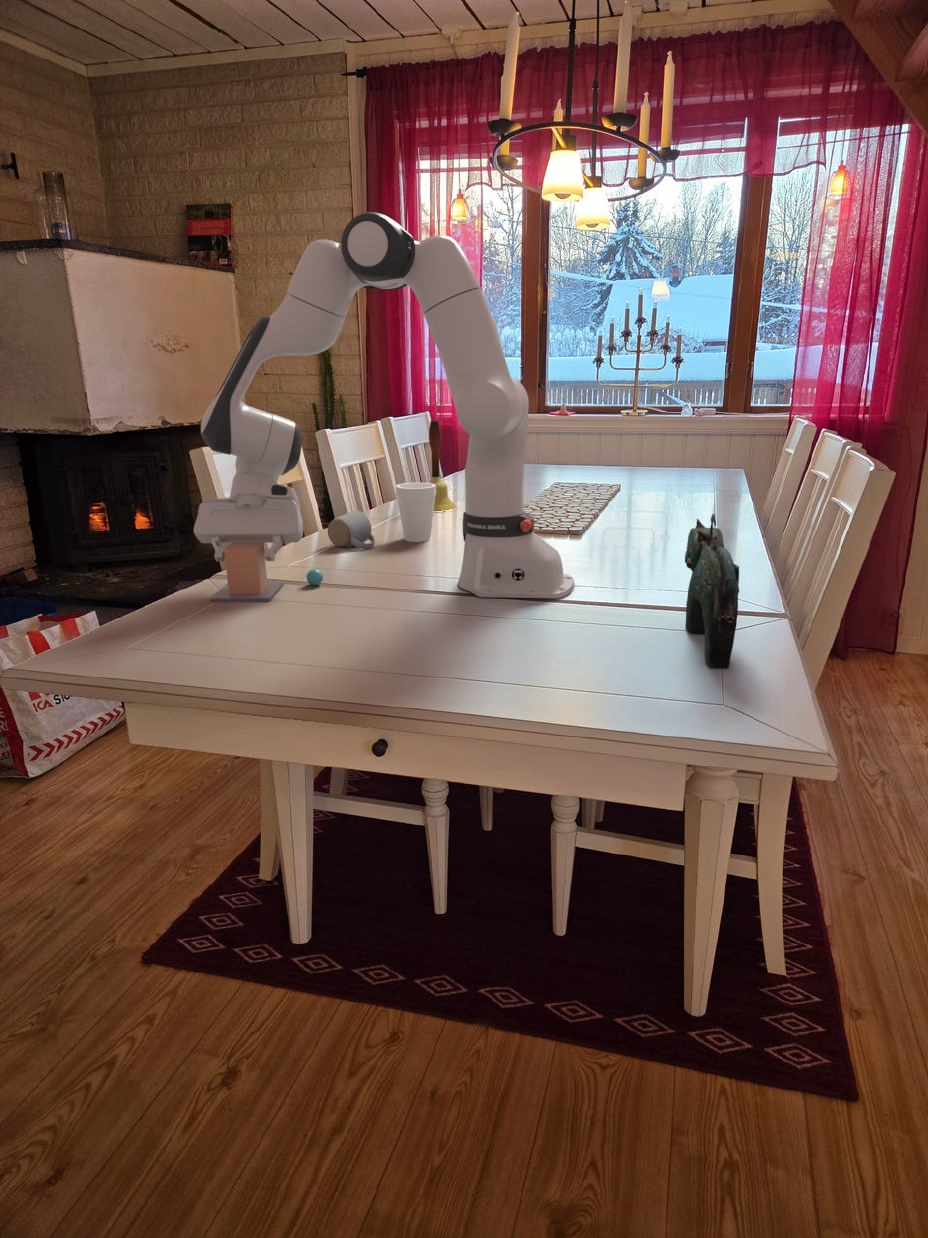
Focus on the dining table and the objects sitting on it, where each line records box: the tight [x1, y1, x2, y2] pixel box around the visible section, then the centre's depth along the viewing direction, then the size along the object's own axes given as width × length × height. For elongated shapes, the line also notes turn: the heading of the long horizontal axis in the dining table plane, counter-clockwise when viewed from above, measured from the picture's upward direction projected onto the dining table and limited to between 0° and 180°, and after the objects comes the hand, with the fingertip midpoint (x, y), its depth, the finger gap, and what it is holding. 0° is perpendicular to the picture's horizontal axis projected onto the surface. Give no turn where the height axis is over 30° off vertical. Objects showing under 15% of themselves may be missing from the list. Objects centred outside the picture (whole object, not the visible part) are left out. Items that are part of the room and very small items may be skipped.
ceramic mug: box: [327, 510, 376, 550], centre depth 186 cm, size 11×8×8 cm
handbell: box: [427, 419, 457, 511], centre depth 227 cm, size 12×12×25 cm
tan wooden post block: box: [223, 543, 268, 594], centre depth 150 cm, size 6×5×9 cm
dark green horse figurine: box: [684, 513, 740, 669], centre depth 118 cm, size 20×6×20 cm, turn 174°
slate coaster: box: [209, 581, 285, 603], centre depth 151 cm, size 11×11×1 cm
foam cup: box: [395, 482, 436, 543], centre depth 191 cm, size 10×9×13 cm
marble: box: [305, 568, 324, 586], centre depth 155 cm, size 3×3×3 cm
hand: (244, 559), depth 148 cm, fingers open, 8 cm apart
